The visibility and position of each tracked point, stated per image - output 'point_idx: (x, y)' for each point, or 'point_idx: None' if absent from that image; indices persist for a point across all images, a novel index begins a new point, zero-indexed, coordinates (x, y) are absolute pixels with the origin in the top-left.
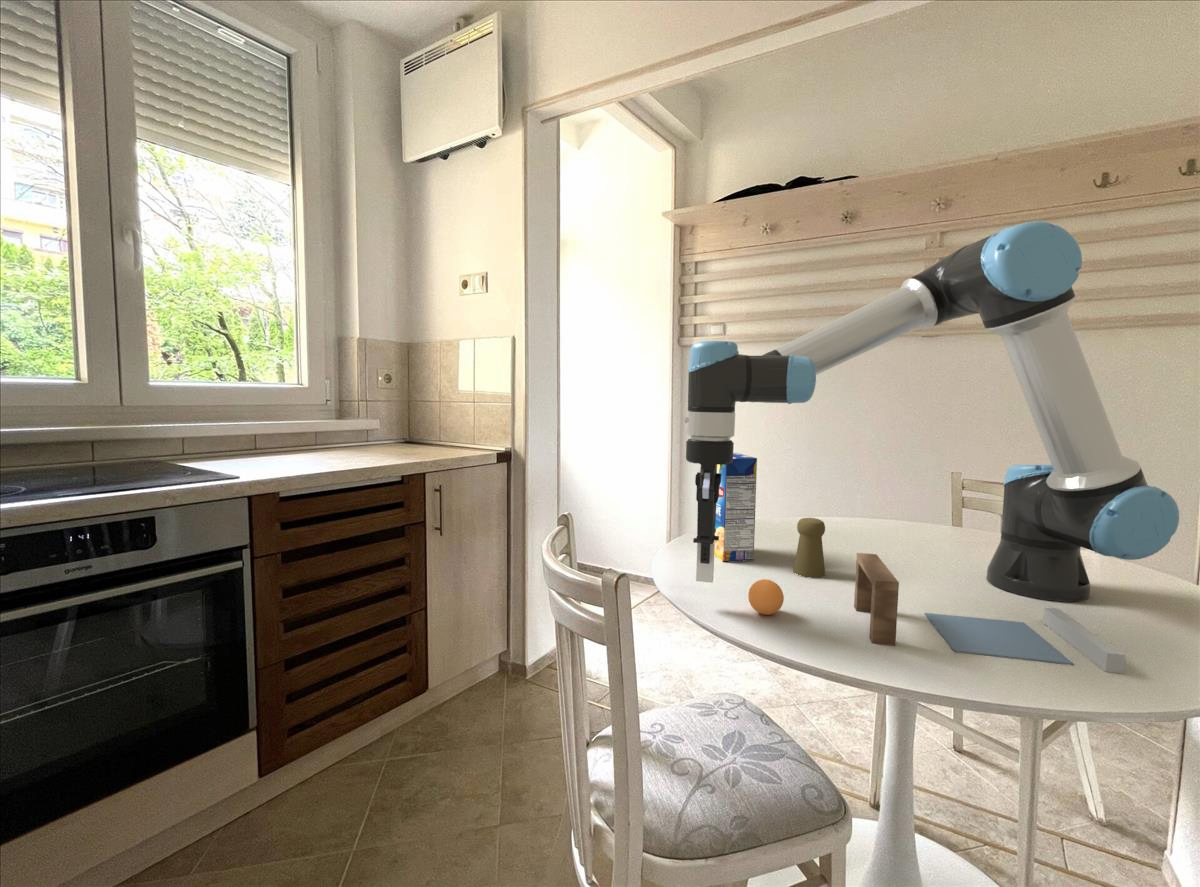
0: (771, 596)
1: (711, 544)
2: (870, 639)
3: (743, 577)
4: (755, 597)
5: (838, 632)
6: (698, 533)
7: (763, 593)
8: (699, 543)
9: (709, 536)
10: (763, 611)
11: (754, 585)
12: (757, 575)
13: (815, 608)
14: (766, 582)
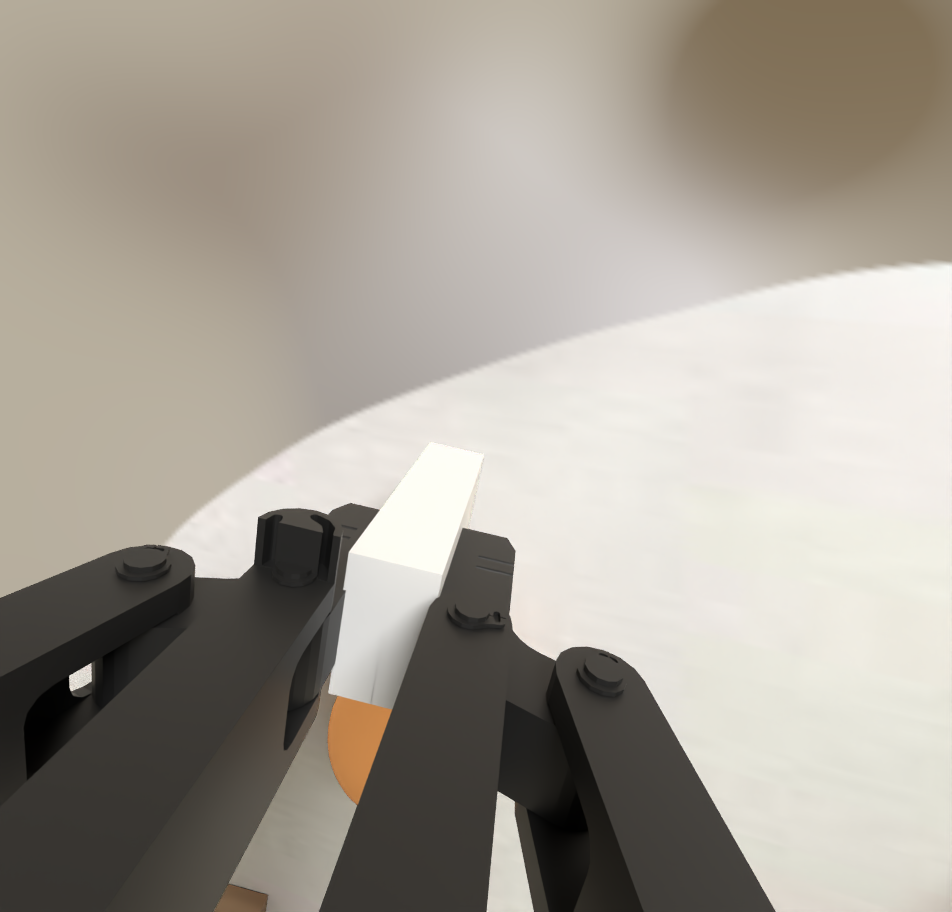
0: (328, 750)
1: (334, 666)
2: (252, 891)
3: (903, 714)
4: None
5: (291, 836)
6: (23, 603)
7: (332, 730)
8: (350, 566)
9: (61, 699)
10: None
11: (382, 723)
12: (927, 782)
13: (493, 852)
14: (364, 785)
